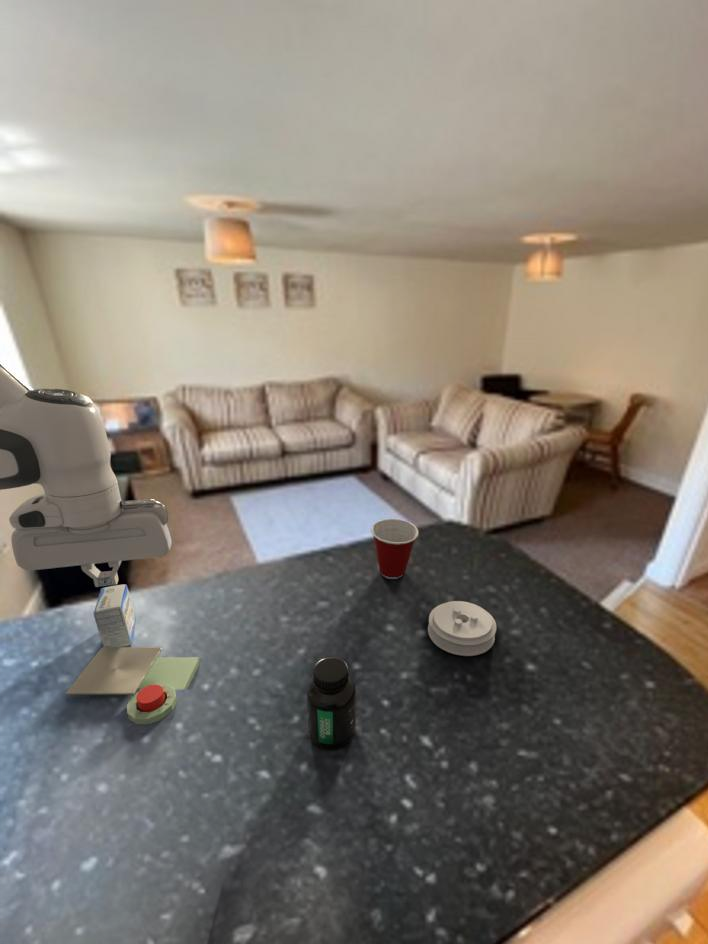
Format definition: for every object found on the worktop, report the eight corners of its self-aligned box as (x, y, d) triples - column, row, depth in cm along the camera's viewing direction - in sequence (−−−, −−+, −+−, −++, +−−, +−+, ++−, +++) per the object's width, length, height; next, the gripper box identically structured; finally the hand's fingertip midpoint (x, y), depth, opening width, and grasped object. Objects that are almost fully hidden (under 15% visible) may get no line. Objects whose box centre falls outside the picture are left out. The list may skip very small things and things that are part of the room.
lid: (507, 648, 83) (511, 626, 81) (450, 668, 78) (453, 646, 76) (468, 609, 94) (471, 590, 92) (415, 625, 89) (417, 604, 87)
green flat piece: (53, 734, 64) (47, 719, 63) (106, 662, 77) (102, 648, 76) (168, 733, 65) (164, 718, 64) (201, 662, 78) (199, 649, 77)
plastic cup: (383, 591, 99) (385, 544, 94) (362, 568, 107) (362, 523, 102) (424, 579, 104) (428, 533, 99) (400, 558, 112) (403, 515, 107)
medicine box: (132, 646, 81) (122, 607, 77) (104, 652, 79) (92, 612, 76) (136, 620, 88) (127, 583, 84) (110, 625, 86) (99, 587, 82)
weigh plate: (66, 695, 67) (65, 693, 67) (102, 648, 76) (101, 647, 76) (134, 695, 67) (133, 693, 67) (162, 649, 76) (161, 647, 76)
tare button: (134, 712, 65) (131, 703, 64) (145, 692, 68) (143, 684, 67) (159, 712, 65) (157, 703, 64) (169, 692, 68) (167, 684, 68)
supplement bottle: (331, 761, 62) (329, 697, 57) (299, 732, 66) (294, 670, 61) (365, 729, 66) (366, 668, 61) (333, 704, 70) (331, 645, 65)
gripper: (167, 490, 71) (180, 565, 77) (14, 501, 65) (40, 581, 71) (161, 506, 65) (176, 585, 71) (-6, 519, 60) (24, 604, 65)
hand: (107, 583), depth 71 cm, fingers closed
